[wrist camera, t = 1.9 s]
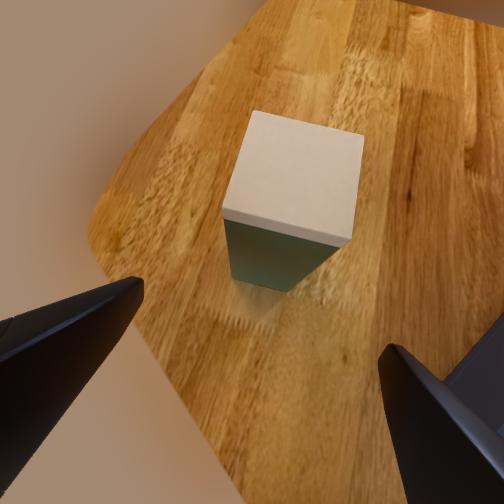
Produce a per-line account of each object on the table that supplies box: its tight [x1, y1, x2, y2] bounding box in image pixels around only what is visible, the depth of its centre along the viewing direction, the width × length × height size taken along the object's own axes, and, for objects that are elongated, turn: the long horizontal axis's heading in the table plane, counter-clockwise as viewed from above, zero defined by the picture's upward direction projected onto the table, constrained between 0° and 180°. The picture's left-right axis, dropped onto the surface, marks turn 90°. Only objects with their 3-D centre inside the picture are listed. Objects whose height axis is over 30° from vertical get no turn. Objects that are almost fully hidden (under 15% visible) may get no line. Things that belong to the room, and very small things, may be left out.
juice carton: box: [222, 110, 364, 292], centre depth 16 cm, size 5×5×13 cm
